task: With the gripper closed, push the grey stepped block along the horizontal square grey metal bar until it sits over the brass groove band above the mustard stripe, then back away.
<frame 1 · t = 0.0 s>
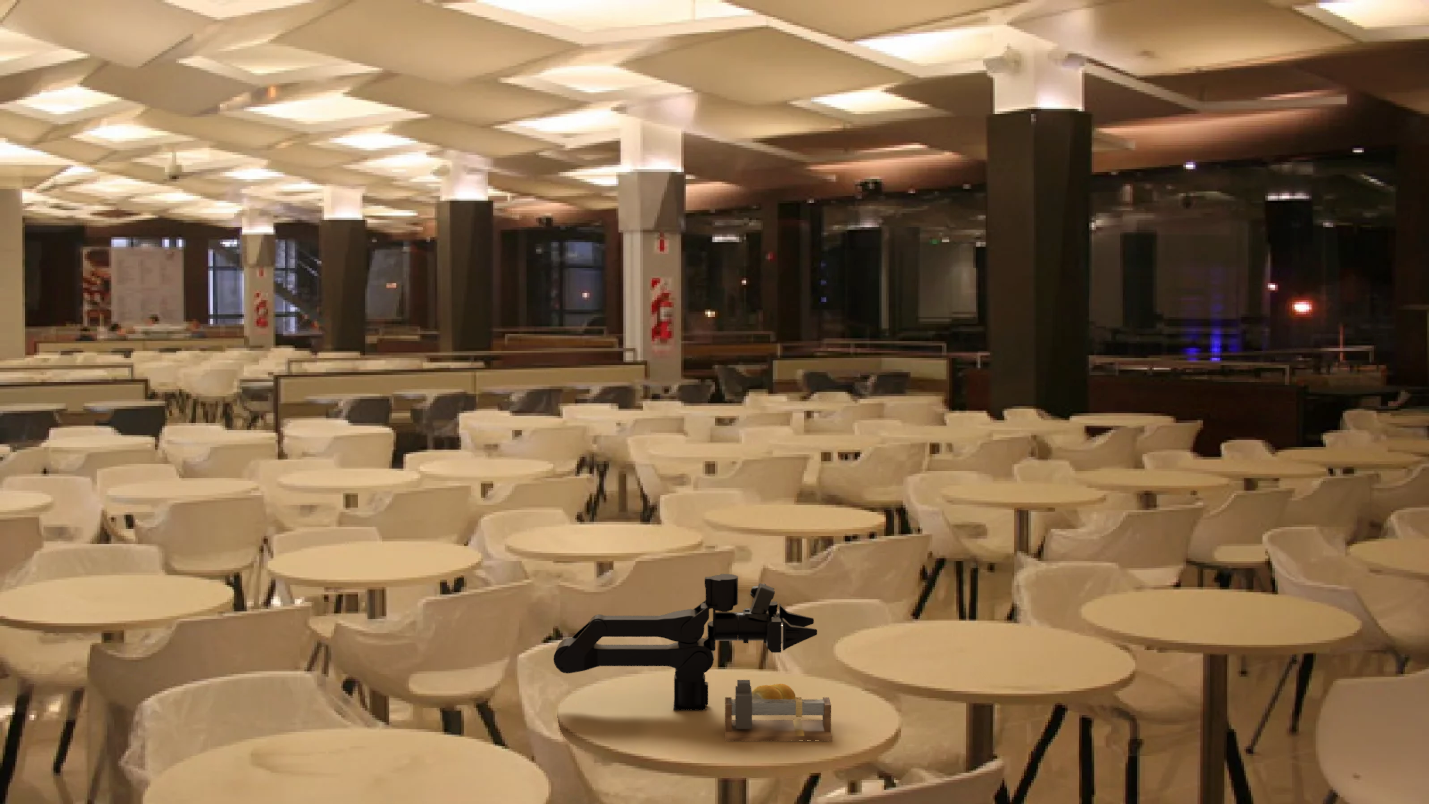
hand: (815, 626, 293), 17 cm above the table, tool horizontal, fingers open, 9 cm apart
bread roll: (772, 704, 297), on the table
brushed metal beam: (777, 707, 277), point 5 cm above the table
grey stepped block: (743, 702, 277), point 6 cm above the table, slide at 0.0 cm
stand: (777, 732, 277), on the table
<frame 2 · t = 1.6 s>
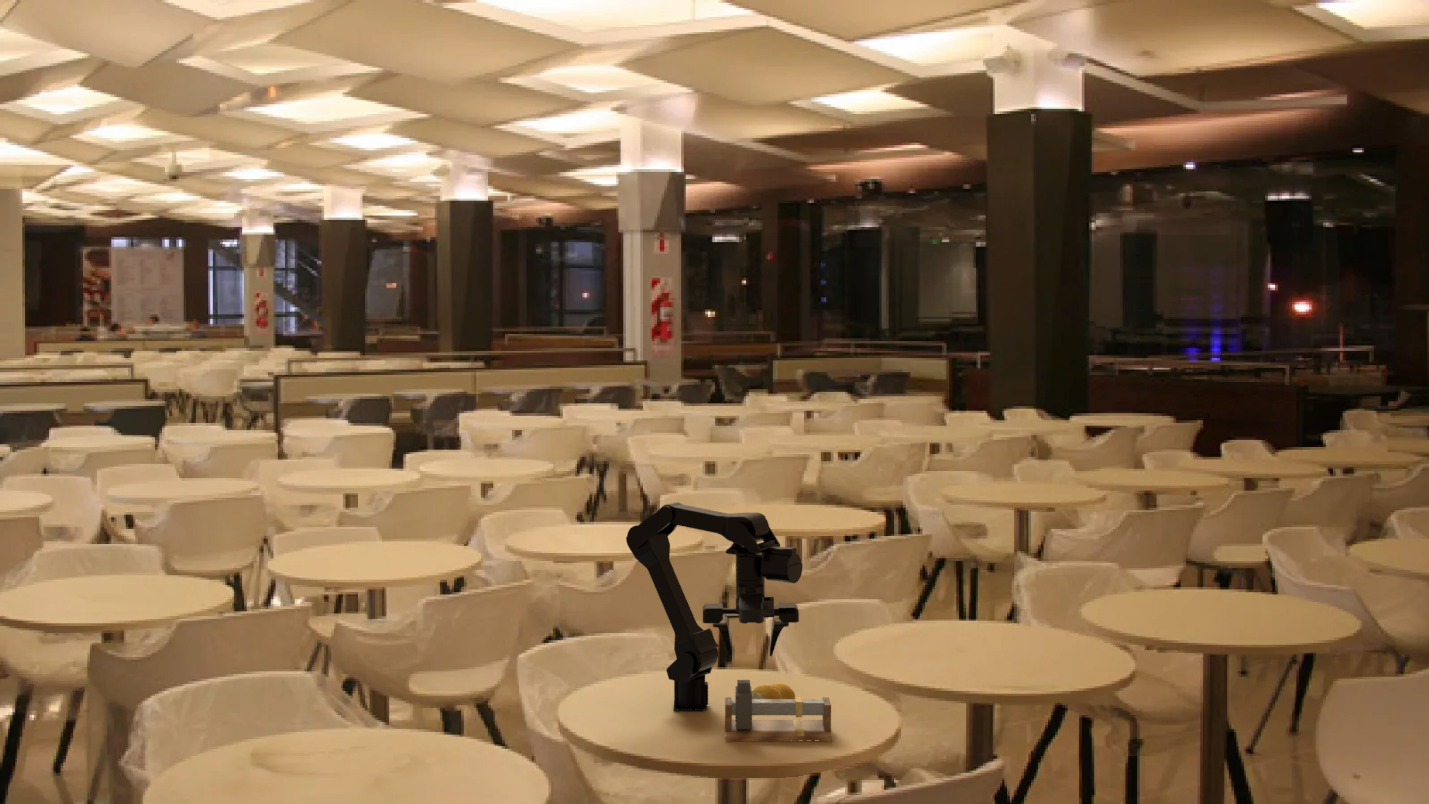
hand: (750, 656, 285), 13 cm above the table, tool pointing down, fingers open, 8 cm apart
nothing on the table moved.
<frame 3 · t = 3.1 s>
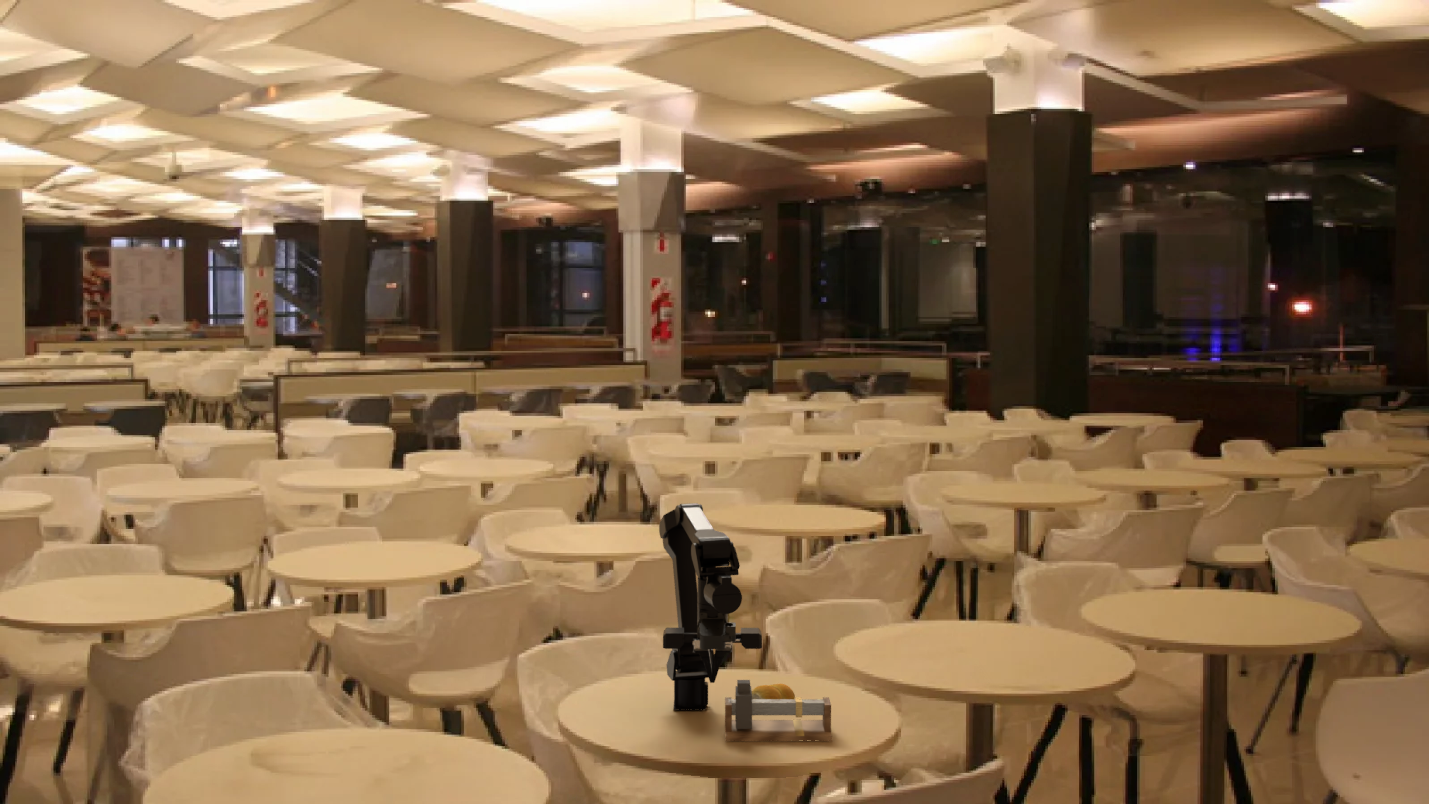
hand: (712, 682, 277), 10 cm above the table, tool pointing down, fingers closed
nothing on the table moved.
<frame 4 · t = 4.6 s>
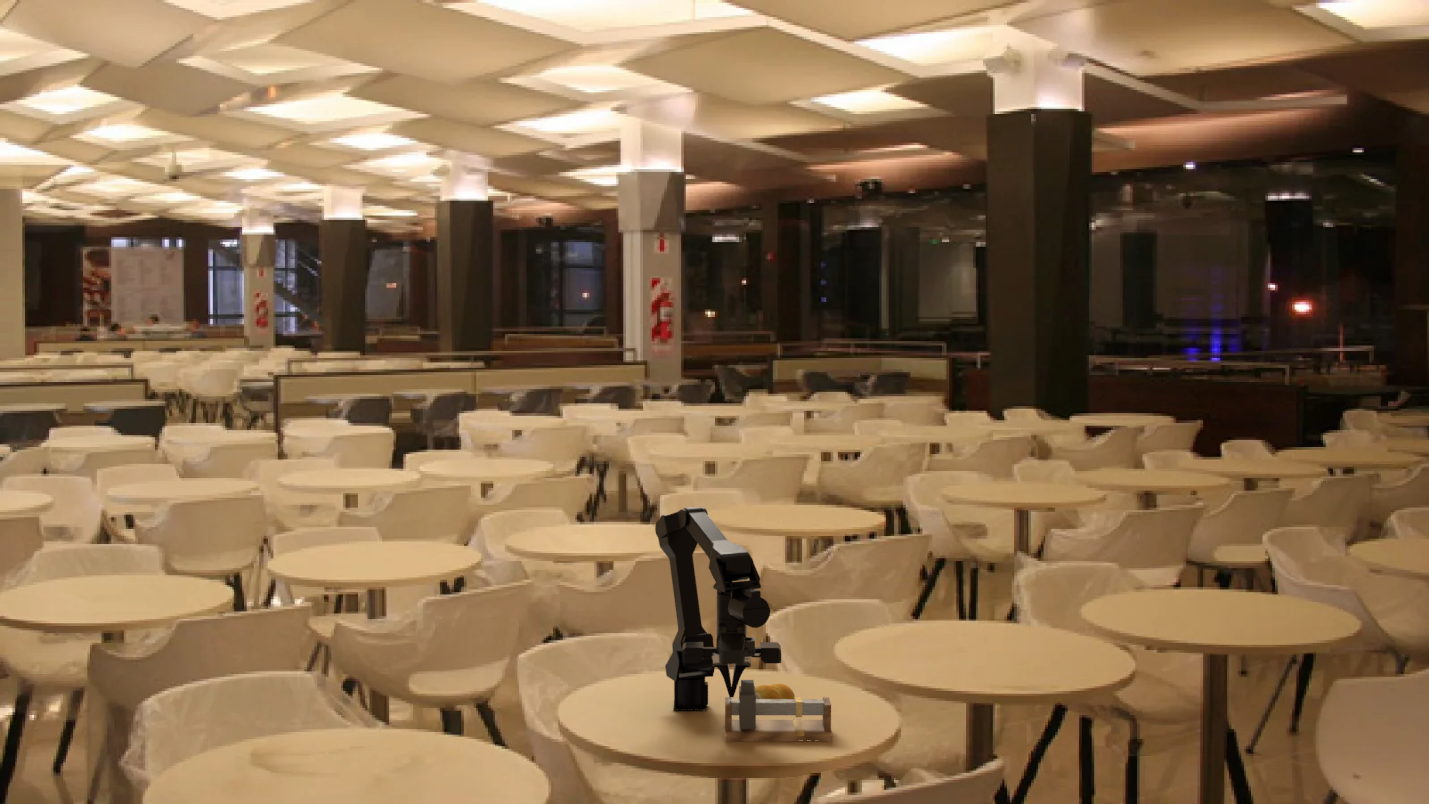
hand: (731, 696, 277), 7 cm above the table, tool pointing down, fingers closed
grey stepped block: (747, 702, 277), point 6 cm above the table, slide at 0.7 cm, touching gripper
everything else where it was.
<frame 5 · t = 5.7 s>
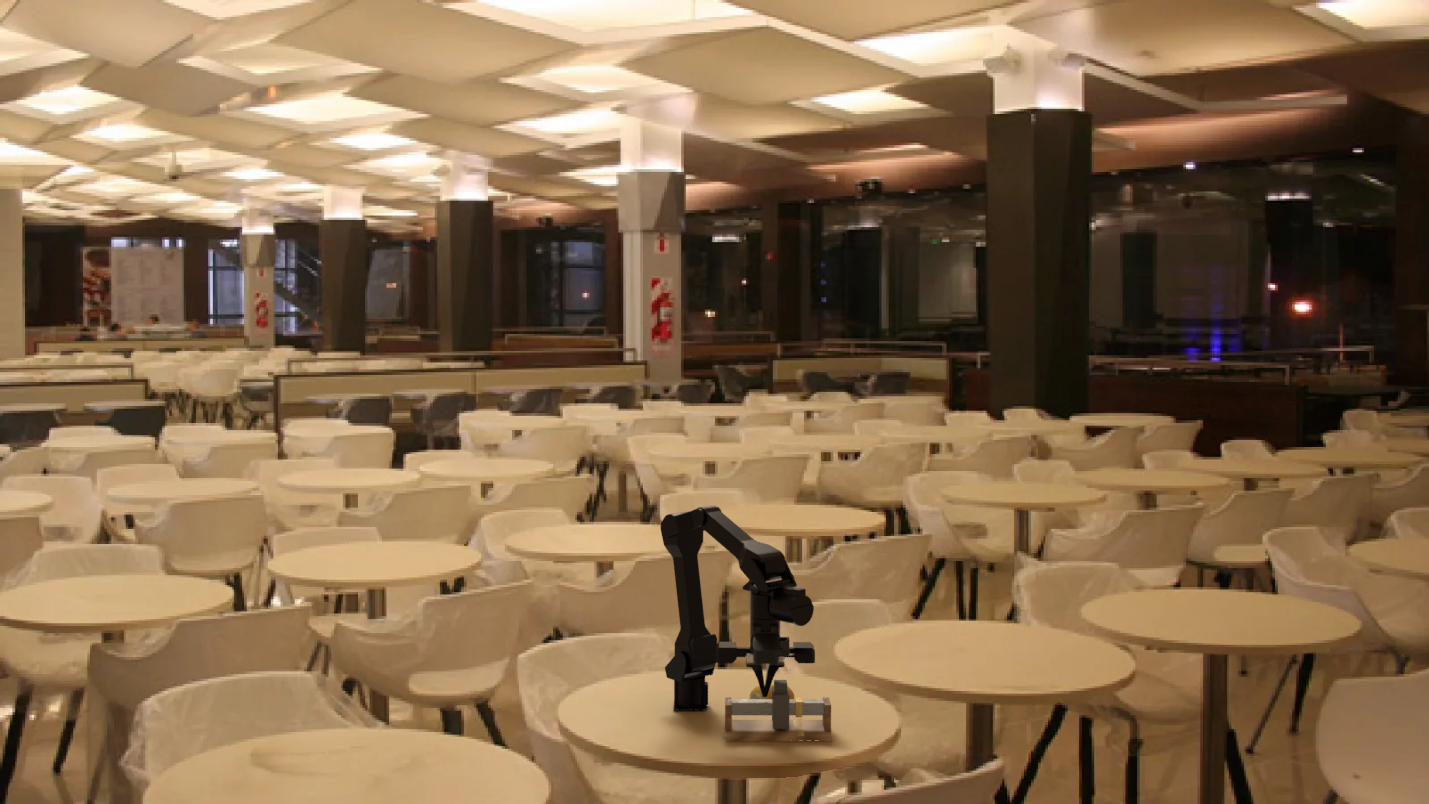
hand: (764, 696, 277), 7 cm above the table, tool pointing down, fingers closed
grey stepped block: (780, 702, 277), point 6 cm above the table, slide at 7.1 cm, touching gripper
everything else where it was.
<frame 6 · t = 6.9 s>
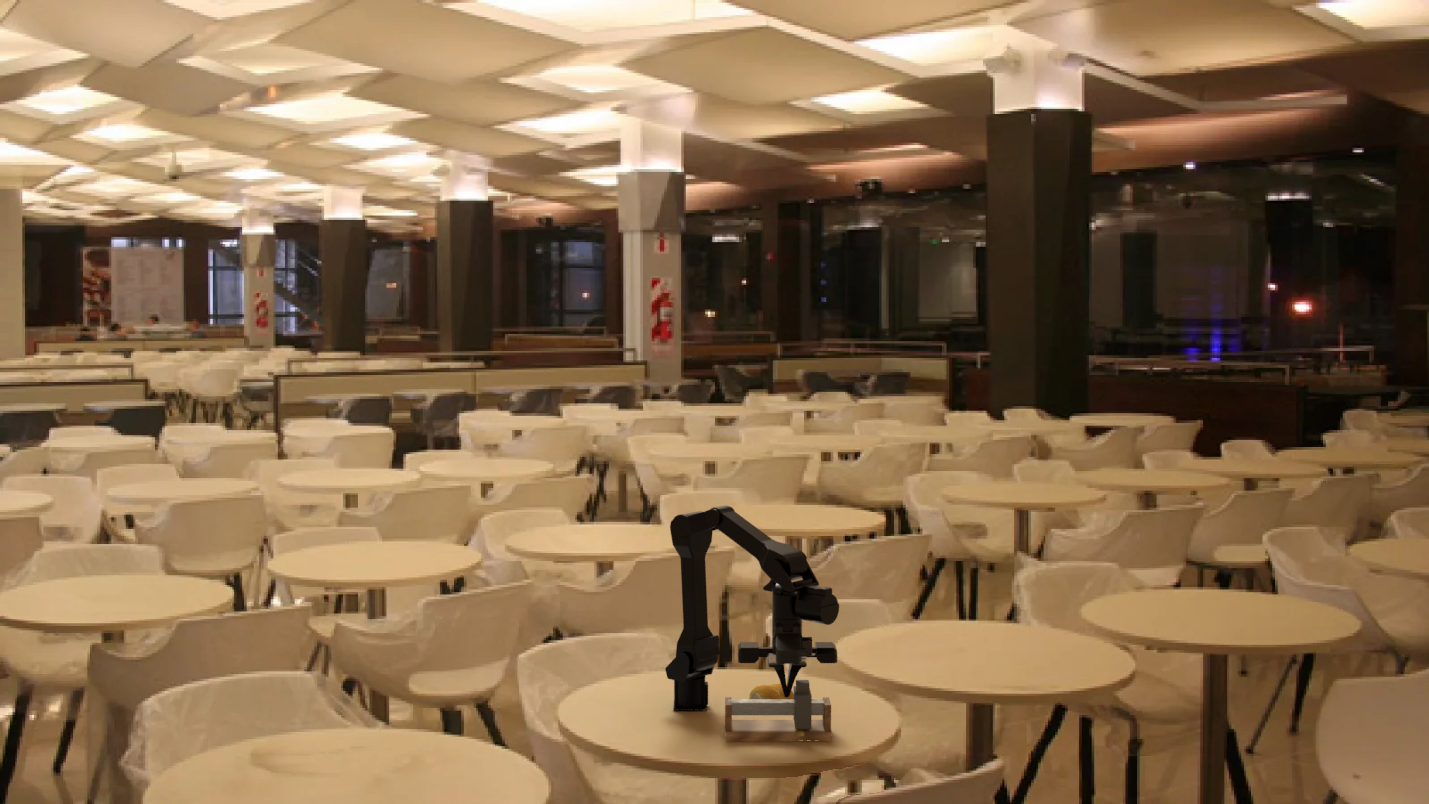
hand: (786, 696, 277), 7 cm above the table, tool pointing down, fingers closed
grey stepped block: (802, 702, 277), point 6 cm above the table, slide at 11.2 cm, touching gripper
everything else where it was.
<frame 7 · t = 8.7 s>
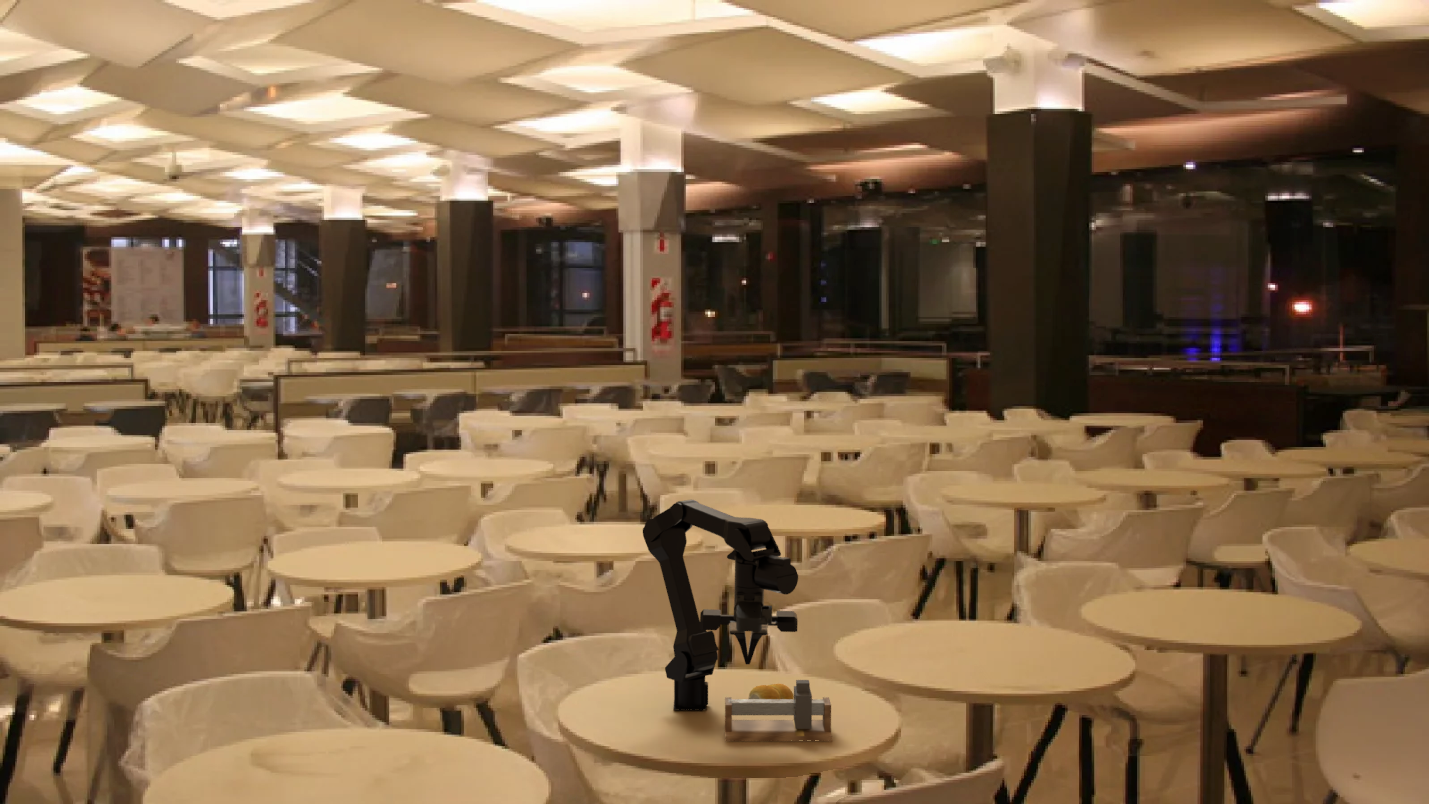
hand: (747, 663, 281), 12 cm above the table, tool pointing down, fingers closed
grey stepped block: (802, 702, 277), point 6 cm above the table, slide at 11.3 cm
everything else where it was.
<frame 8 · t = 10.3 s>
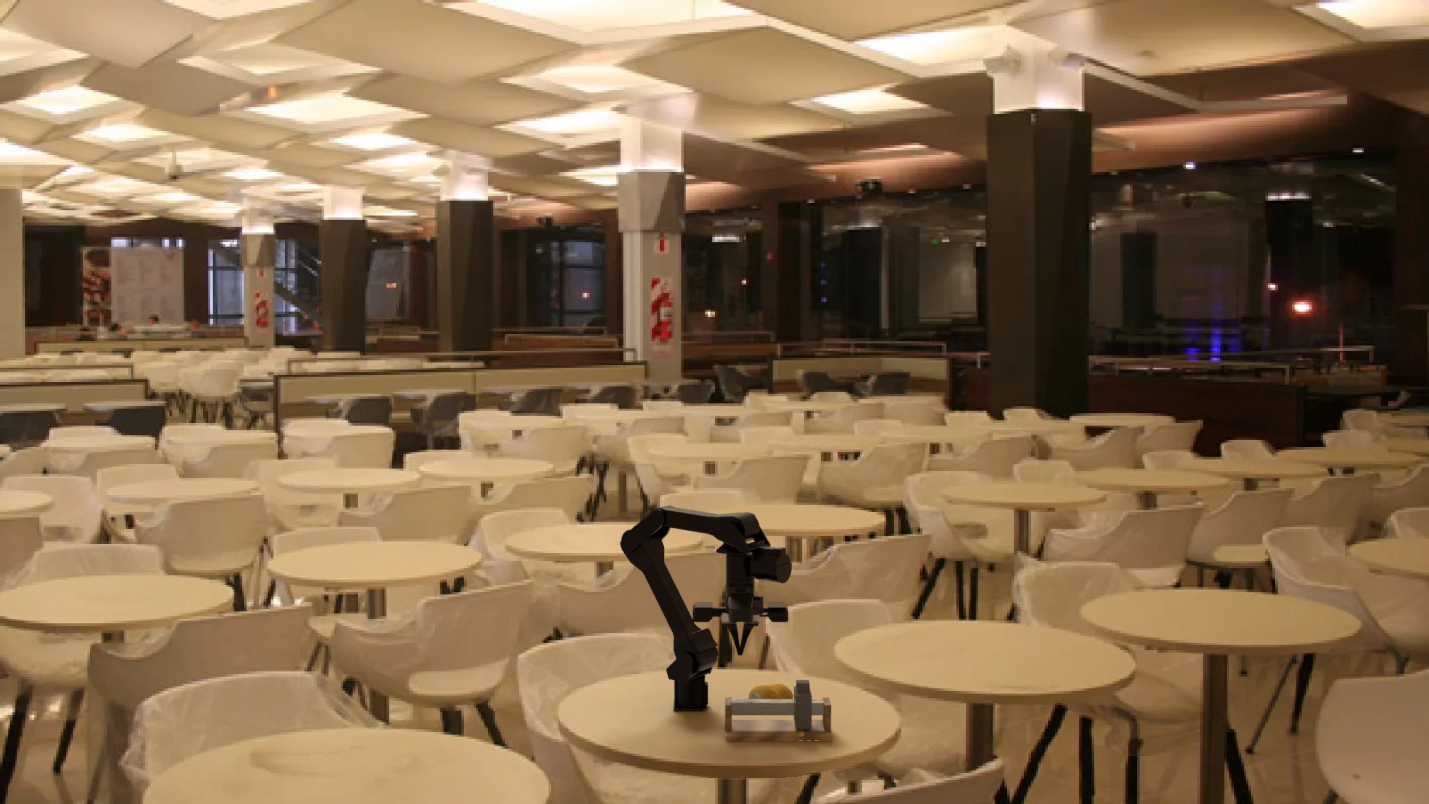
hand: (740, 655, 286), 13 cm above the table, tool pointing down, fingers closed
nothing on the table moved.
at the end: grey stepped block slide at 11.3 cm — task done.
